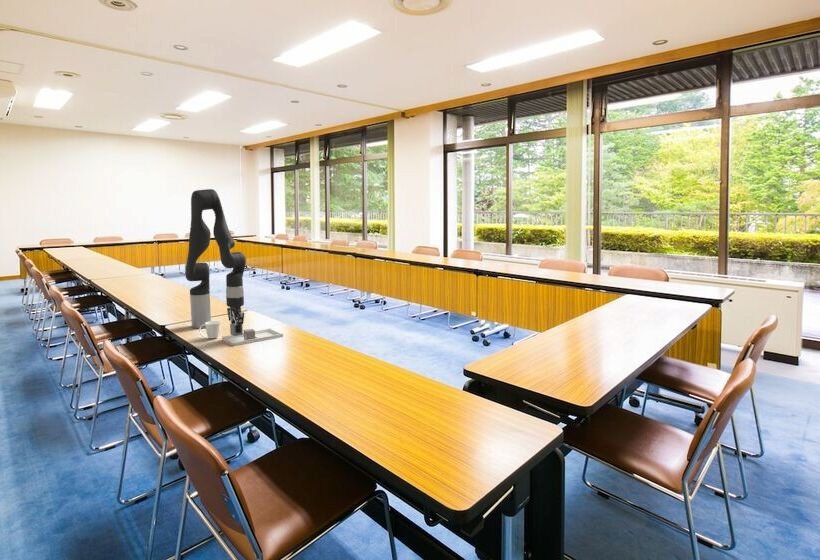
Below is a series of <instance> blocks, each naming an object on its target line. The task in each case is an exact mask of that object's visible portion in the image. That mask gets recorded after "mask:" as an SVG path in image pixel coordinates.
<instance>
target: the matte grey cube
mask: <svg viewBox="0 0 820 560" xmlns="http://www.w3.org/2000/svg"><path fill="white" fill-rule="evenodd" d="M229 327H230V328H229V329H230V331H229V332H230V333H229V334H230V335H233V336H238V335H243V333H244V330H243V324H241V332H240V333H236V324H235V323H233V324H231V323H230V324H229Z"/></svg>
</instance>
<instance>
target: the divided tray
mask: <svg viewBox="0 0 820 560" xmlns="http://www.w3.org/2000/svg"><path fill="white" fill-rule="evenodd" d="M283 337H284V334H283V333H282V332H279V331H277V330H275V329H272V328H264V329H260V330H255V339H250V340H245V341H244V332H243V335H238V336H233V335H231V334H230V335H225V336H221V340H222V341H223V342H224V343H227V344H228V345H231V346H232V347H236V346H243V345H247V344H252V343H259V342H262V341H267V340H268V341H269V340H274V339H278V338H283Z"/></svg>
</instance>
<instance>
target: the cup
mask: <svg viewBox="0 0 820 560" xmlns="http://www.w3.org/2000/svg"><path fill="white" fill-rule="evenodd" d="M203 325H204V326H205V327H206V328H205V331H206V335H207V336H205V335H204V334H203V333H202V328H201V327H202V325H201V326H200V328H198V330H199V331H198V332H199V334H200V336H201V337H203V338H204V339H217V338H219V334H220V328H221V327H220V326H221V321H218V320H211V321H209V322H205V324H203Z"/></svg>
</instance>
